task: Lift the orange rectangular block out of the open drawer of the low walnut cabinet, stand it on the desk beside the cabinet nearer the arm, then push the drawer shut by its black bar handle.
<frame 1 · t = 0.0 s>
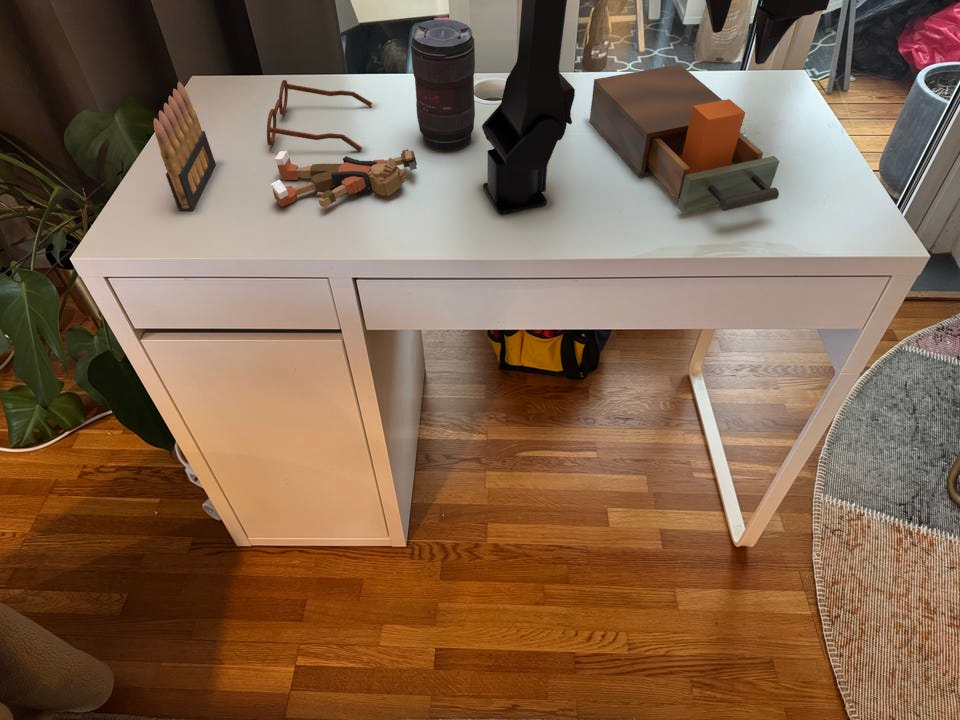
hand: (737, 47, 85), 15 cm above the table, tool pointing down, fingers open, 9 cm apart
drawer: (708, 165, 88), point 3 cm above the table, slide at 8.5 cm, touching orange rectangular block
cabinet: (656, 139, 99), on the table
camera lens: (447, 141, 99), on the table
orange rectangular block: (703, 171, 90), point 2 cm above the table, touching drawer
glasses: (322, 130, 102), on the table
ammunition clip: (198, 188, 92), on the table
character figurine: (345, 190, 91), on the table
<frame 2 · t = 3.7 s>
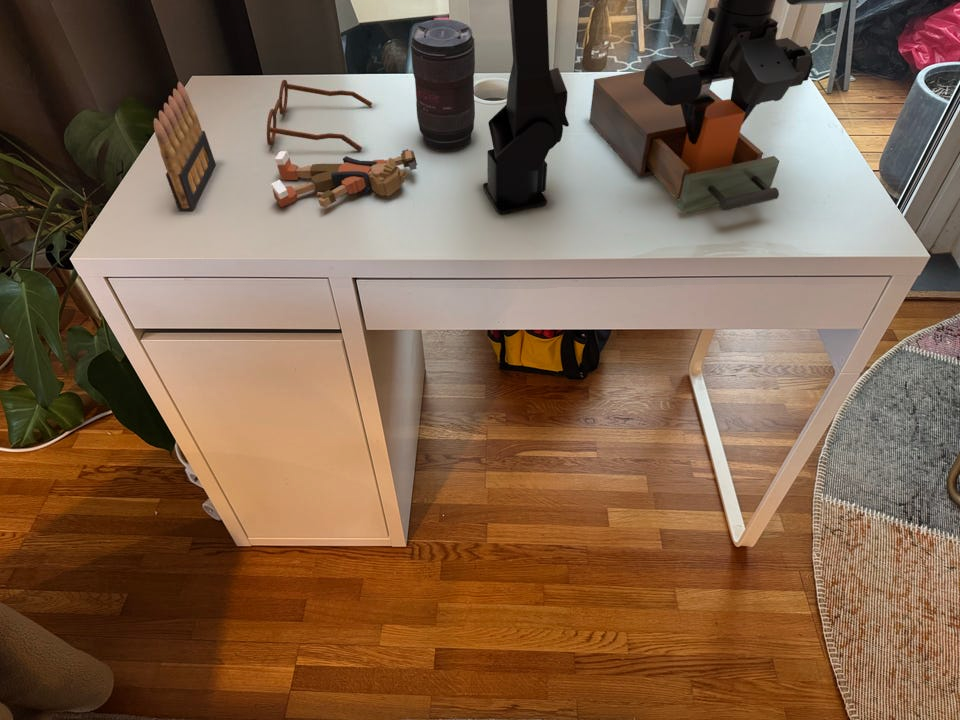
hand: (711, 138, 86), 7 cm above the table, tool pointing down, fingers closed on orange rectangular block, 5 cm apart
orange rectangular block: (703, 171, 90), point 2 cm above the table, touching drawer, gripper
everything else where it was.
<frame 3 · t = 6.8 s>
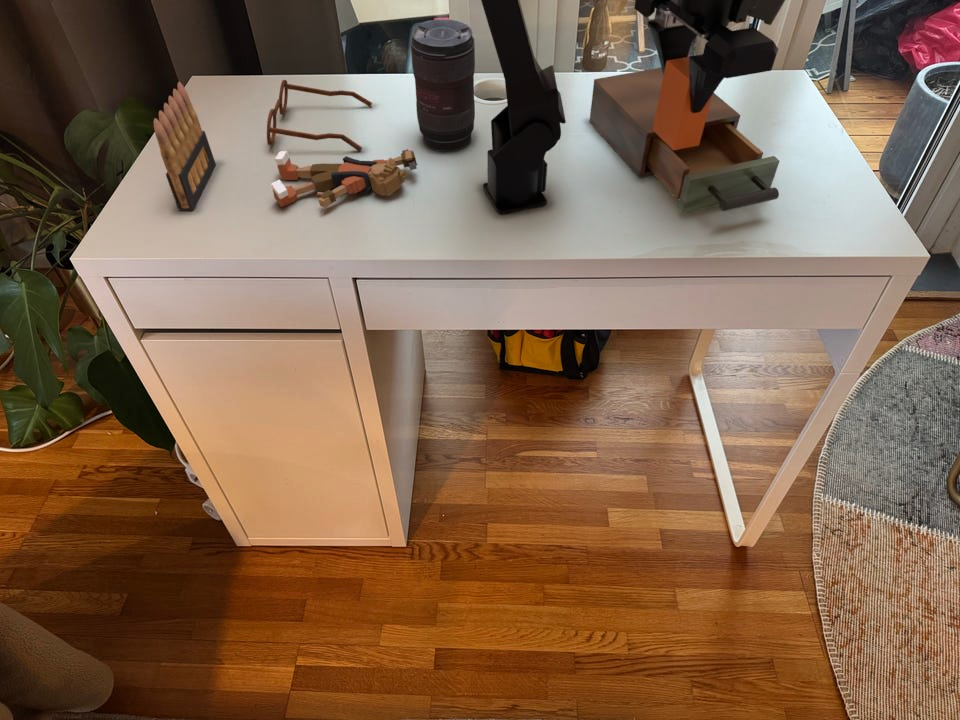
hand: (683, 101, 81), 12 cm above the table, tool pointing down, fingers closed on orange rectangular block, 5 cm apart
drawer: (708, 165, 88), point 3 cm above the table, slide at 8.5 cm
orange rectangular block: (675, 137, 84), point 8 cm above the table, touching gripper
everything else where it was.
when the fingers open (4 cm above the table, at t = 10.1 s): orange rectangular block stays where it is, on the table.
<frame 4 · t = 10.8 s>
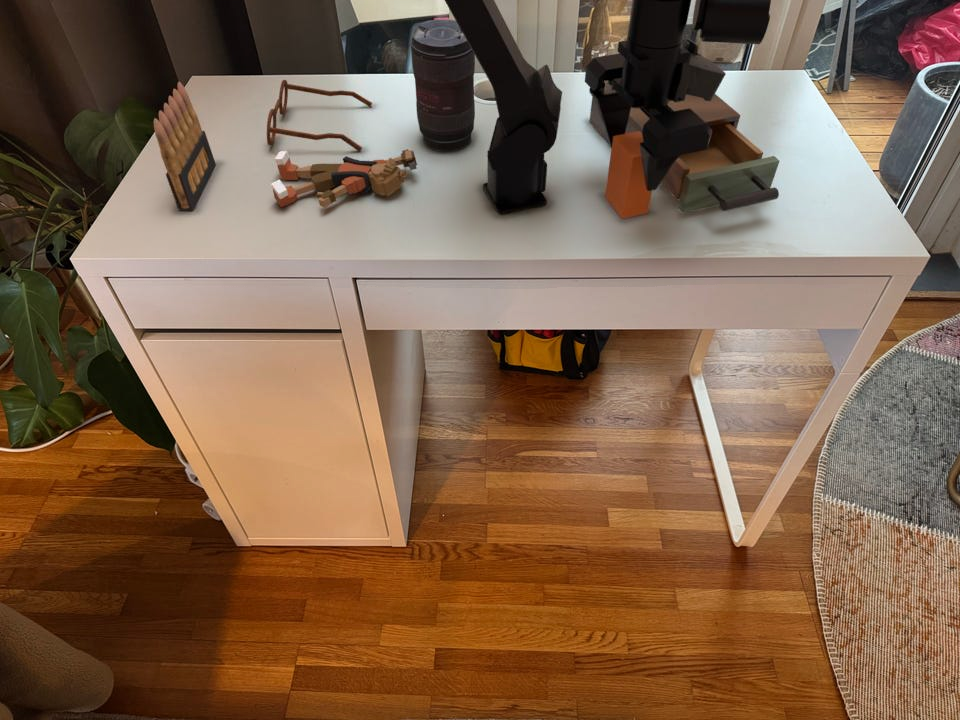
hand: (632, 169, 84), 5 cm above the table, tool pointing down, fingers open, 9 cm apart
orange rectangular block: (625, 204, 88), on the table
everything else where it was.
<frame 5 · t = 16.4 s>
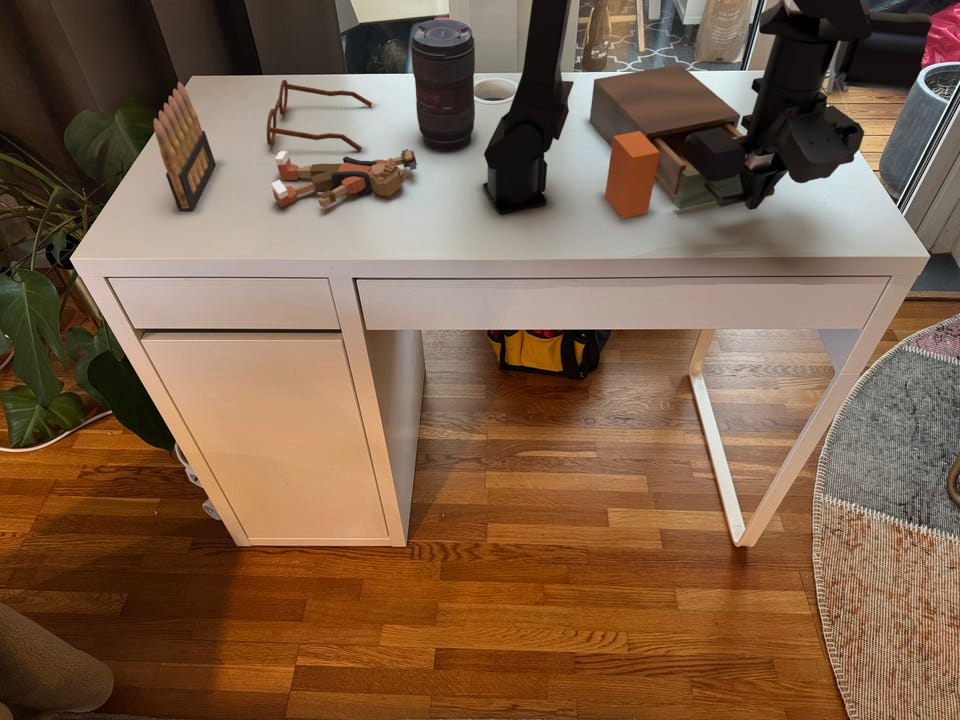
hand: (750, 207, 82), 3 cm above the table, tool pointing down, fingers closed, pressing on drawer
drawer: (705, 162, 89), point 3 cm above the table, slide at 7.7 cm, touching gripper
everything else where it was.
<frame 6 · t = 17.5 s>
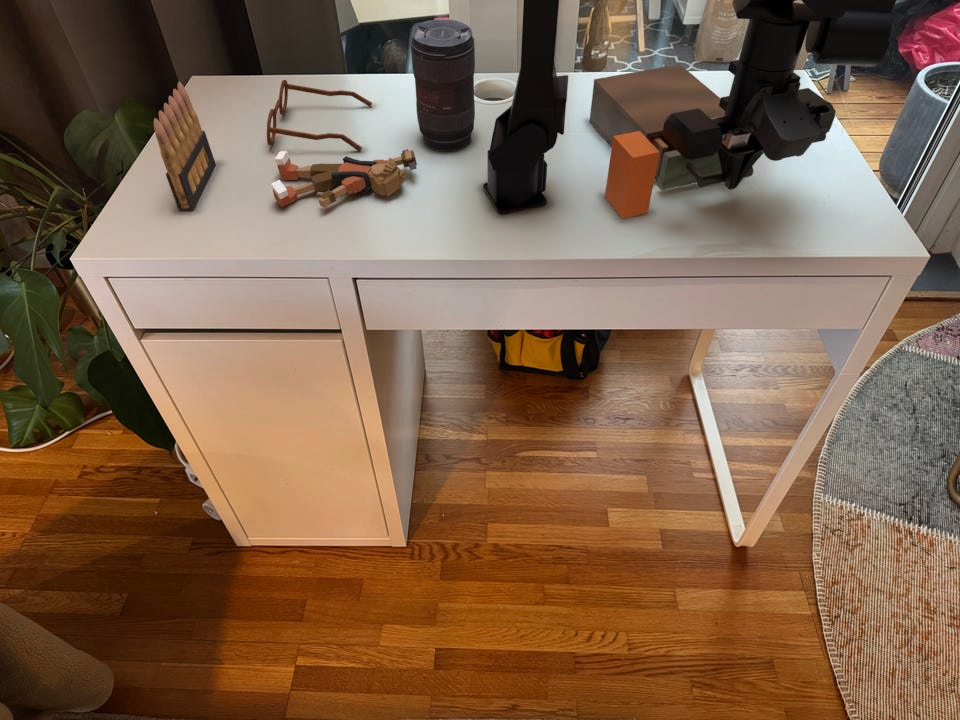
hand: (729, 187, 85), 3 cm above the table, tool pointing down, fingers closed, pressing on drawer
drawer: (687, 144, 92), point 3 cm above the table, slide at 3.3 cm, touching gripper
everything else where it was.
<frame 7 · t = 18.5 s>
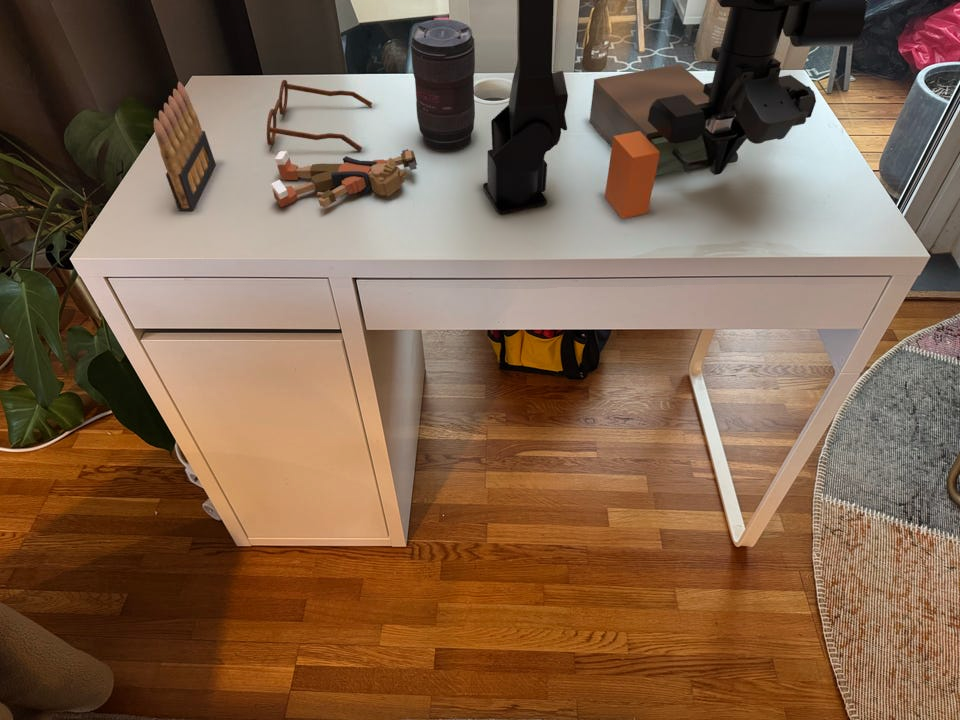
hand: (715, 173, 87), 3 cm above the table, tool pointing down, fingers closed, pressing on drawer
drawer: (674, 132, 94), point 3 cm above the table, slide at 0.0 cm, touching cabinet, gripper
everything else where it was.
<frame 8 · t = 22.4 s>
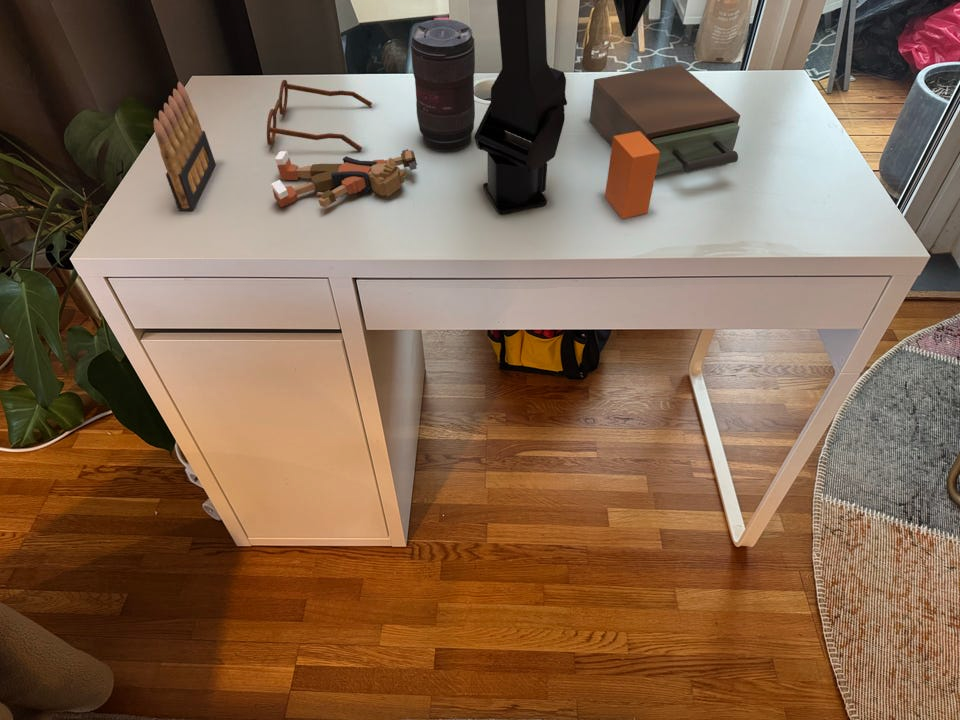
hand: (626, 35, 93), 12 cm above the table, tool pointing down, fingers closed
drawer: (674, 132, 94), point 3 cm above the table, slide at 0.0 cm, touching cabinet
everything else where it was.
at the end: orange rectangular block 0.1 cm from the target spot, on the table; orange rectangular block tilted 0°; drawer slide at 0.0 cm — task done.
